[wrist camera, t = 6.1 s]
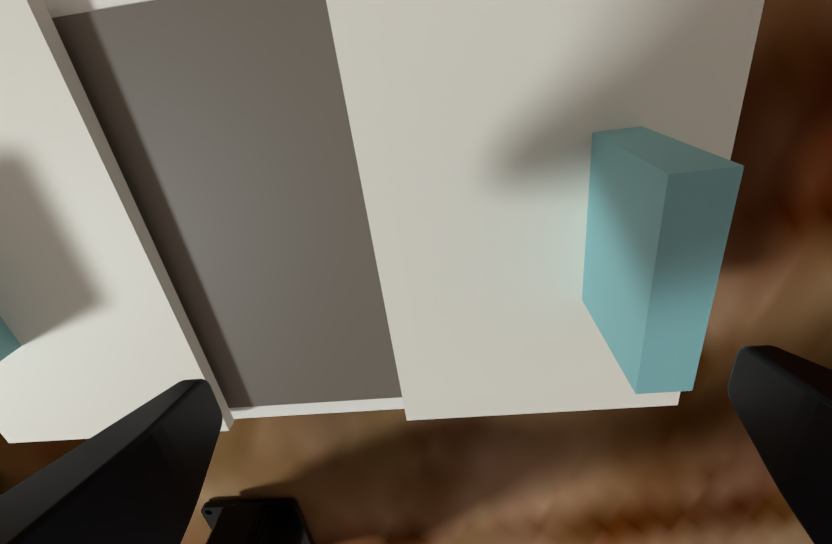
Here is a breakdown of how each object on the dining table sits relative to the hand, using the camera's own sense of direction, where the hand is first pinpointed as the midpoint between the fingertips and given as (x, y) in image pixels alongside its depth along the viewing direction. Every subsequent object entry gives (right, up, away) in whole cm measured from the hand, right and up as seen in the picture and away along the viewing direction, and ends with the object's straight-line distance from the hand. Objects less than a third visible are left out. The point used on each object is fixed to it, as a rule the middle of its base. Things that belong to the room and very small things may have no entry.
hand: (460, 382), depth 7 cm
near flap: (+3, +3, +5) cm, 7 cm away
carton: (-8, +5, +11) cm, 15 cm away
